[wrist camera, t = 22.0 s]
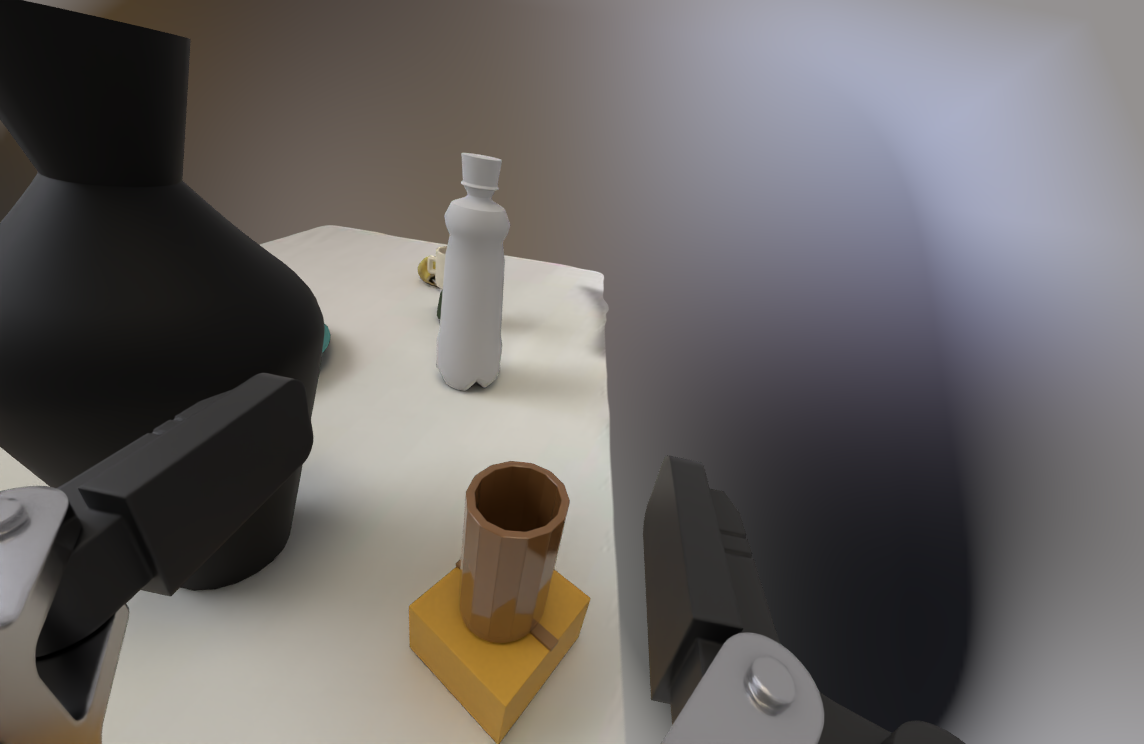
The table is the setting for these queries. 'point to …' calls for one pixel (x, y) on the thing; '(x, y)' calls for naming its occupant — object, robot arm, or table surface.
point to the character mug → (438, 271)
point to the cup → (509, 548)
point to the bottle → (473, 279)
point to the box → (493, 651)
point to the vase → (128, 266)
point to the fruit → (426, 272)
